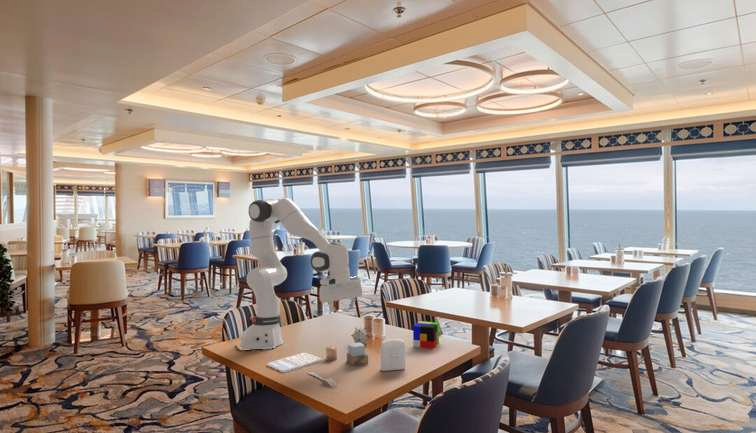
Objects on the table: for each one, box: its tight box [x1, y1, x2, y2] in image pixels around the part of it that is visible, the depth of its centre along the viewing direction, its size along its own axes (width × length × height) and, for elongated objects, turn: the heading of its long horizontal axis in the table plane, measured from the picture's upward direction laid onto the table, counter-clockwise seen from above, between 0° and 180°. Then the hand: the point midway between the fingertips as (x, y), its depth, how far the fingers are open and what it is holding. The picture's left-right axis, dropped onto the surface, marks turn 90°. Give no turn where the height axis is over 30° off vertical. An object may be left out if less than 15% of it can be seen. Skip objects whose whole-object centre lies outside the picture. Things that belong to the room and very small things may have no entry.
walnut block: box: [346, 352, 369, 367], centre depth 187 cm, size 7×7×4 cm
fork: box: [307, 371, 339, 389], centre depth 168 cm, size 3×21×3 cm, turn 37°
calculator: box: [266, 352, 323, 373], centre depth 187 cm, size 13×20×2 cm, turn 135°
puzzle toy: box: [412, 320, 440, 349], centre depth 212 cm, size 10×10×10 cm
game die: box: [350, 327, 370, 346], centre depth 214 cm, size 9×8×10 cm
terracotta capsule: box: [325, 345, 338, 361], centre depth 192 cm, size 5×5×5 cm
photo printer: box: [380, 338, 406, 372], centre depth 179 cm, size 10×4×12 cm, turn 103°
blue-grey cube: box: [347, 342, 366, 357], centre depth 187 cm, size 6×6×4 cm
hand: (342, 309), depth 193 cm, fingers open, 8 cm apart
